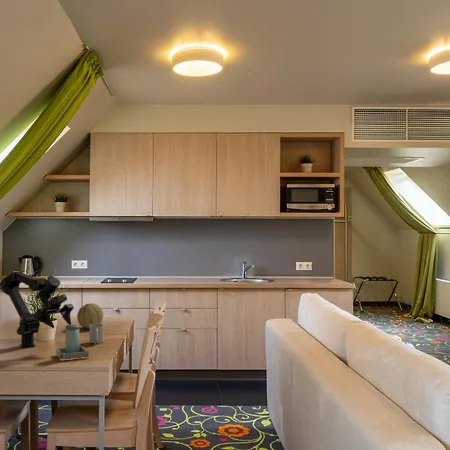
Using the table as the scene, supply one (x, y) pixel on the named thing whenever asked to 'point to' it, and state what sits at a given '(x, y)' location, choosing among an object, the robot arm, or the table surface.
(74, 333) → the canister
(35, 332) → the robot arm
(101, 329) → the cup
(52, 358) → the table surface
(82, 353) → the grey square tray
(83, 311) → the seamed olive ball
